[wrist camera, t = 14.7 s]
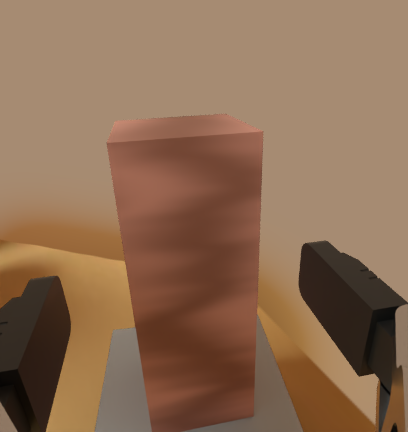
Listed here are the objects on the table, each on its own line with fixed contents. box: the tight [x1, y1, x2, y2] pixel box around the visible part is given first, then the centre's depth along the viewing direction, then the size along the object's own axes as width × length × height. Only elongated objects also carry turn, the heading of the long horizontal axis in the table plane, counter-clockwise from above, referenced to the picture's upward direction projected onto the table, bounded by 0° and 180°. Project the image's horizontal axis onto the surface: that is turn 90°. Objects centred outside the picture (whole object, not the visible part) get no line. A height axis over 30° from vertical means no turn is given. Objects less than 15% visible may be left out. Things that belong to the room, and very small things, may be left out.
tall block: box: [107, 114, 263, 432], centre depth 16 cm, size 5×5×14 cm
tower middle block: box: [95, 314, 303, 432], centre depth 19 cm, size 10×10×4 cm
